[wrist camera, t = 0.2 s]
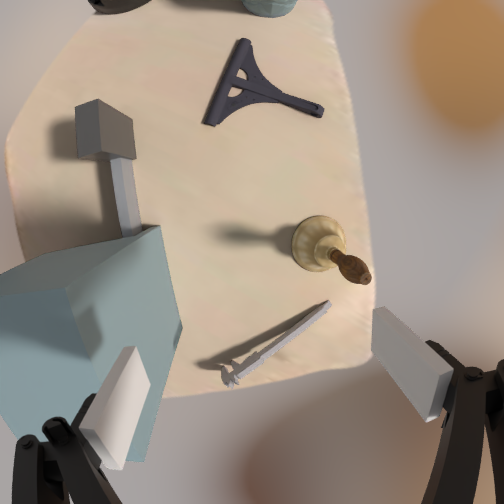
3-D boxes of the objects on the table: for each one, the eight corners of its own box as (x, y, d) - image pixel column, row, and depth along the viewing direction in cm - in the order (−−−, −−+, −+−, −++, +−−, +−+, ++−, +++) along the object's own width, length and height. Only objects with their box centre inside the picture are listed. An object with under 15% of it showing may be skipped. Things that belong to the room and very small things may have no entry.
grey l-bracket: (113, 124, 36) (74, 106, 25) (132, 119, 37) (98, 98, 25) (133, 258, 41) (101, 284, 29) (152, 255, 41) (124, 281, 30)
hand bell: (351, 223, 42) (409, 245, 27) (336, 276, 44) (384, 321, 28) (299, 209, 41) (337, 225, 26) (284, 265, 43) (313, 310, 27)
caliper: (225, 370, 47) (225, 393, 40) (221, 365, 46) (220, 389, 40) (331, 304, 45) (344, 321, 39) (327, 298, 45) (341, 315, 39)
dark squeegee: (304, 159, 40) (309, 158, 37) (204, 124, 38) (202, 120, 35) (333, 76, 38) (339, 70, 35) (240, 42, 36) (240, 33, 33)
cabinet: (63, 244, 40) (-57, 302, 14) (160, 225, 40) (64, 287, 15) (90, 335, 43) (12, 437, 18) (182, 328, 44) (144, 462, 19)
